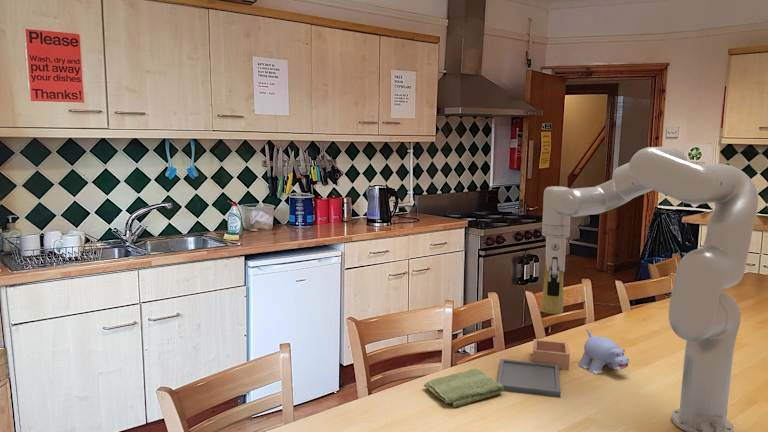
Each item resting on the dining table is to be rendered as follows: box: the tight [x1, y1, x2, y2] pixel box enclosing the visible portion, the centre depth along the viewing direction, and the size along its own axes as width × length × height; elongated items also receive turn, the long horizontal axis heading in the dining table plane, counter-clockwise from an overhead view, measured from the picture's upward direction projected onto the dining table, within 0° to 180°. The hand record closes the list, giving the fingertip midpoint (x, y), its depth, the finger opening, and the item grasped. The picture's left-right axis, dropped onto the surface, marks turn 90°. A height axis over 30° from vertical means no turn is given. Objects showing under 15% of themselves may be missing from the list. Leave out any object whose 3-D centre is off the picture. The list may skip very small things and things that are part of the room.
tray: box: [496, 358, 562, 398], centre depth 159 cm, size 18×16×2 cm
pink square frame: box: [532, 338, 570, 371], centre depth 172 cm, size 10×10×4 cm
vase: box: [540, 260, 565, 315], centre depth 168 cm, size 6×6×14 cm
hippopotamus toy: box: [578, 329, 630, 375], centre depth 167 cm, size 11×15×10 cm
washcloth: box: [423, 367, 504, 408], centre depth 151 cm, size 13×18×3 cm
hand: (552, 292), depth 168 cm, fingers closed on vase, 5 cm apart
